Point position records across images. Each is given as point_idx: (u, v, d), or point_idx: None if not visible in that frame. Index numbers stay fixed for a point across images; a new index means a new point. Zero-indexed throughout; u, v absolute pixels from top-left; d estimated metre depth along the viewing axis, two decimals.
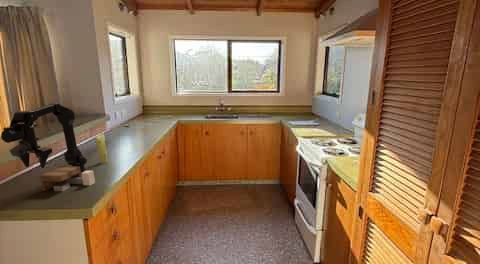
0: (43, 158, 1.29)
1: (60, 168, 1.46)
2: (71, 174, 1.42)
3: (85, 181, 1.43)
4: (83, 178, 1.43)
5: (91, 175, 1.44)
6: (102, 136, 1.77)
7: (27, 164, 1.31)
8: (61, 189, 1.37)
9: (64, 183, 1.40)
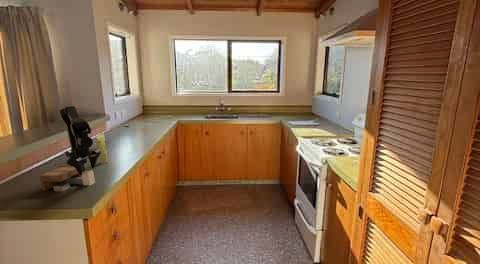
0: (78, 167, 1.37)
1: (60, 168, 1.46)
2: (71, 174, 1.42)
3: (85, 181, 1.43)
4: (83, 178, 1.43)
5: (91, 175, 1.44)
6: (102, 136, 1.77)
7: (92, 166, 1.48)
8: (61, 189, 1.37)
9: (64, 183, 1.40)
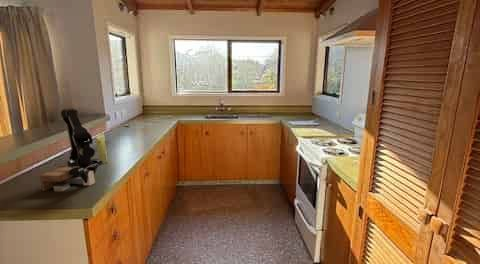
0: (83, 175, 1.41)
1: (60, 168, 1.46)
2: None
3: None
4: None
5: (91, 175, 1.44)
6: (102, 136, 1.77)
7: None
8: (61, 189, 1.37)
9: (63, 183, 1.40)
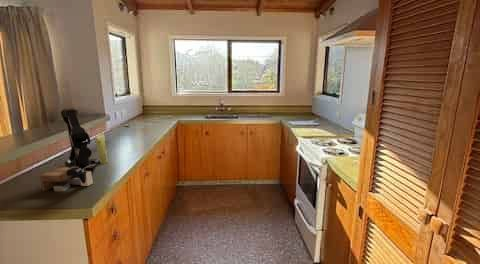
0: (81, 175, 1.39)
1: (60, 168, 1.46)
2: None
3: None
4: None
5: (89, 175, 1.42)
6: (102, 136, 1.77)
7: None
8: (61, 189, 1.37)
9: (63, 183, 1.40)
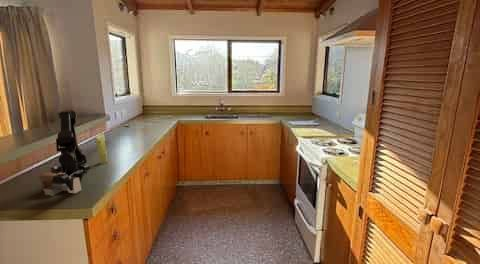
0: (68, 182, 1.30)
1: None
2: None
3: None
4: None
5: (76, 182, 1.34)
6: (102, 136, 1.77)
7: None
8: (51, 193, 1.32)
9: (55, 186, 1.36)
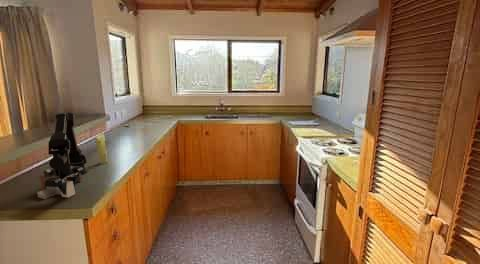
0: (61, 186, 1.26)
1: None
2: None
3: None
4: None
5: (70, 186, 1.30)
6: (102, 136, 1.77)
7: None
8: (44, 196, 1.29)
9: (49, 189, 1.32)
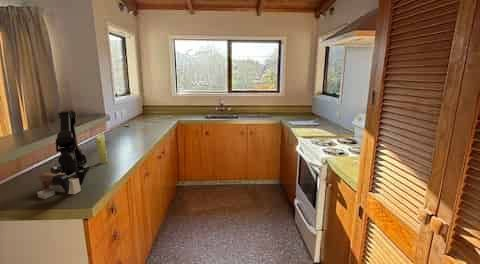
0: (64, 184, 1.28)
1: None
2: None
3: (69, 189, 1.33)
4: None
5: (76, 183, 1.34)
6: (102, 136, 1.77)
7: (80, 182, 1.39)
8: (43, 196, 1.29)
9: (49, 189, 1.32)
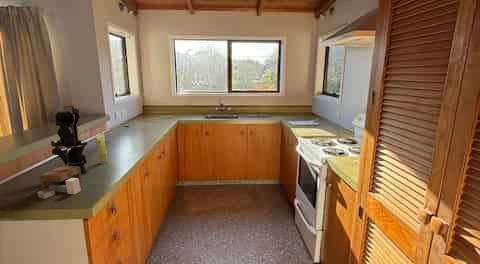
0: (63, 156, 1.39)
1: (60, 168, 1.46)
2: (71, 174, 1.42)
3: (69, 189, 1.33)
4: (67, 186, 1.33)
5: (76, 183, 1.34)
6: (102, 136, 1.77)
7: (78, 156, 1.49)
8: (43, 197, 1.29)
9: (49, 189, 1.32)
